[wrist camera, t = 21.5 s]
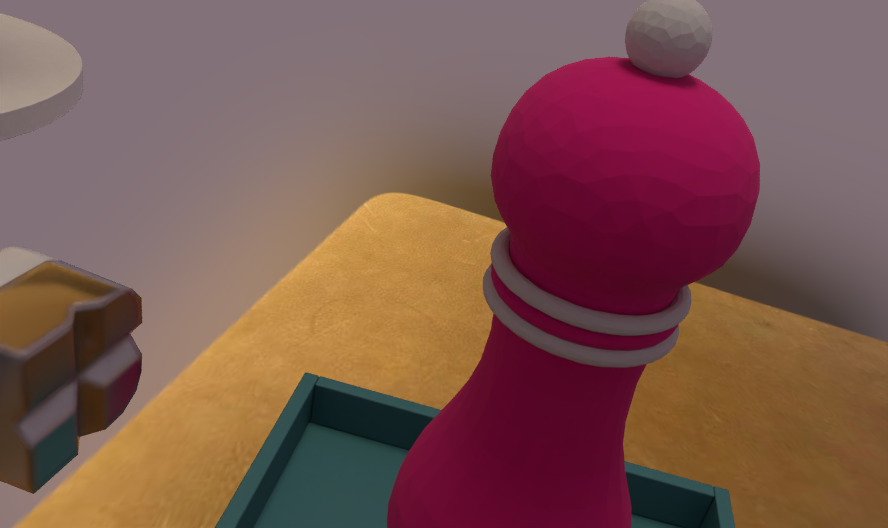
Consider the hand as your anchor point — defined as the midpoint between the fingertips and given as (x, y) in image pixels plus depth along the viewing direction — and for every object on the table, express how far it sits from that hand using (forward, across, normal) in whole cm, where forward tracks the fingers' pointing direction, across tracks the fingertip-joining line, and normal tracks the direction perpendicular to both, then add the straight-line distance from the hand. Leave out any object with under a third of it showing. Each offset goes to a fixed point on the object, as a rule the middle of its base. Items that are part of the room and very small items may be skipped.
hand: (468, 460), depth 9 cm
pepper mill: (+11, -1, +17) cm, 20 cm away
